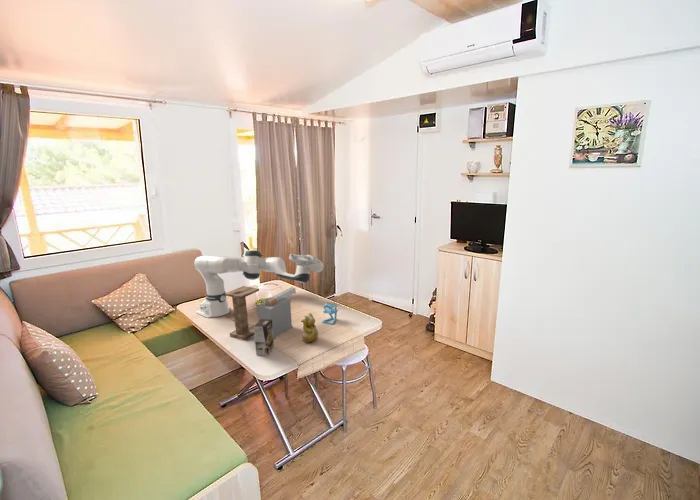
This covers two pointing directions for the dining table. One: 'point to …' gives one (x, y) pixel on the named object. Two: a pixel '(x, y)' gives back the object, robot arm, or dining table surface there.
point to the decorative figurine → (309, 329)
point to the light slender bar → (279, 296)
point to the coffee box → (264, 337)
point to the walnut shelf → (241, 312)
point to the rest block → (277, 315)
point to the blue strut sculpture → (330, 312)
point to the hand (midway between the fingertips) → (297, 255)
